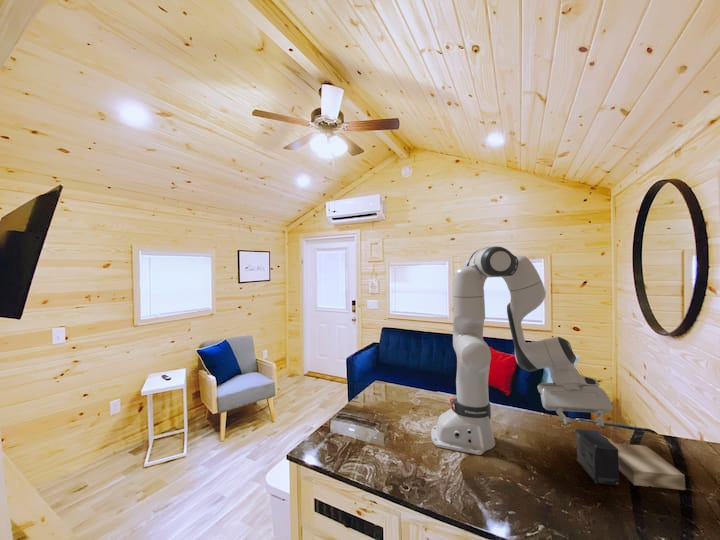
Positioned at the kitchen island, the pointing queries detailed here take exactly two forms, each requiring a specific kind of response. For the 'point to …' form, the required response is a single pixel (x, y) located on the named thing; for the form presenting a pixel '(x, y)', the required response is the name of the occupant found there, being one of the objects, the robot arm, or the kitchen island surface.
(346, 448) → the kitchen island surface
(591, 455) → the small box
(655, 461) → the plinth
